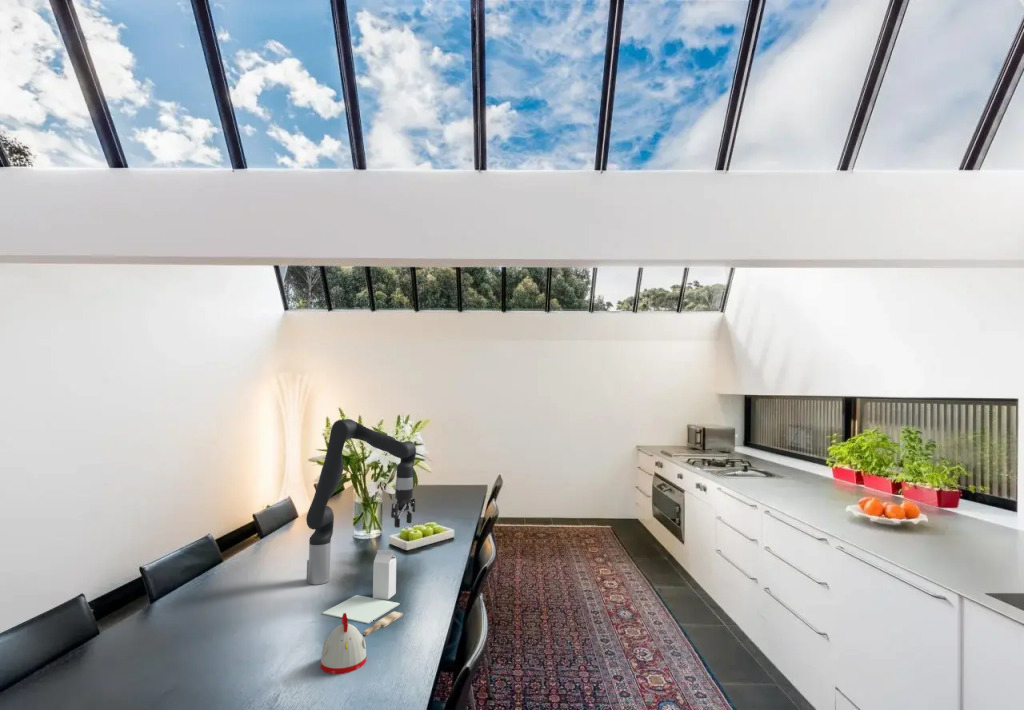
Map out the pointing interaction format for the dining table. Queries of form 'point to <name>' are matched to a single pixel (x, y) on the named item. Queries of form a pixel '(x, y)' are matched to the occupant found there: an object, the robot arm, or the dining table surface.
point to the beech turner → (383, 622)
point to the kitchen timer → (343, 649)
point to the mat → (361, 609)
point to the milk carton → (384, 575)
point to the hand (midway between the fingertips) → (403, 525)
